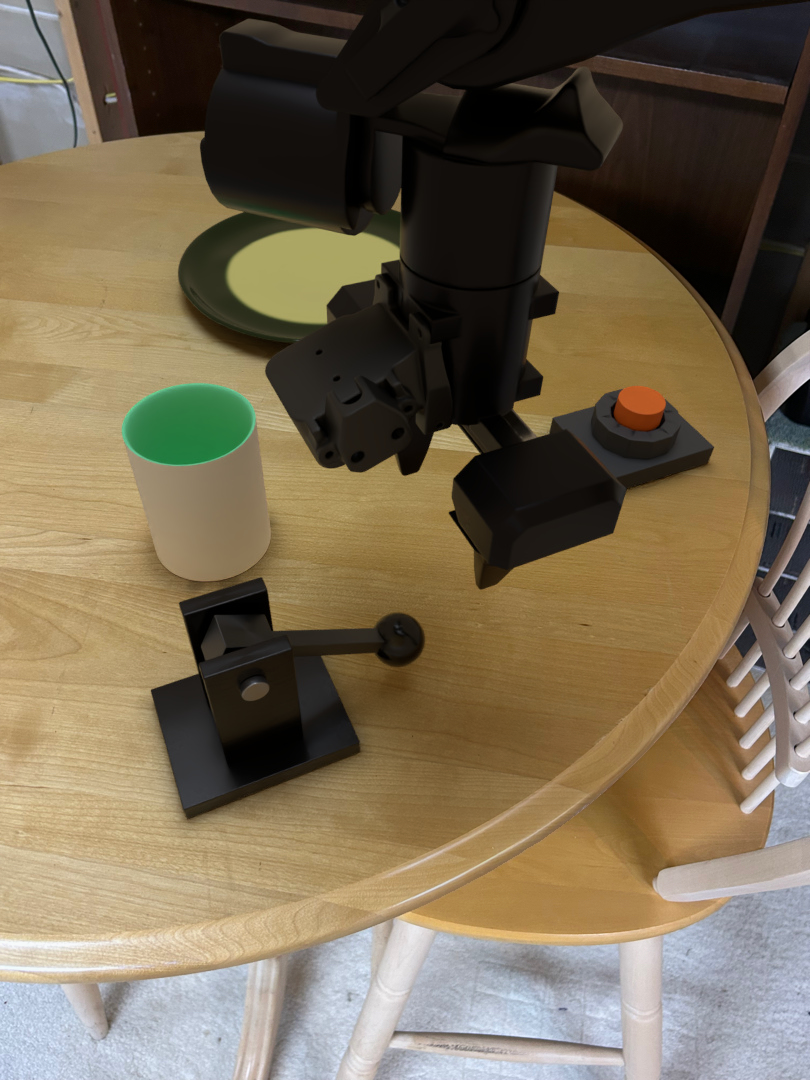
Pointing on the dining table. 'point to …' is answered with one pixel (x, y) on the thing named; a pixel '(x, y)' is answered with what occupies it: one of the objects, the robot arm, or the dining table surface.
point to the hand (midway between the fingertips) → (445, 525)
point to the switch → (247, 710)
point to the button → (639, 408)
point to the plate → (280, 271)
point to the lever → (321, 638)
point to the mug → (200, 479)
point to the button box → (636, 442)
